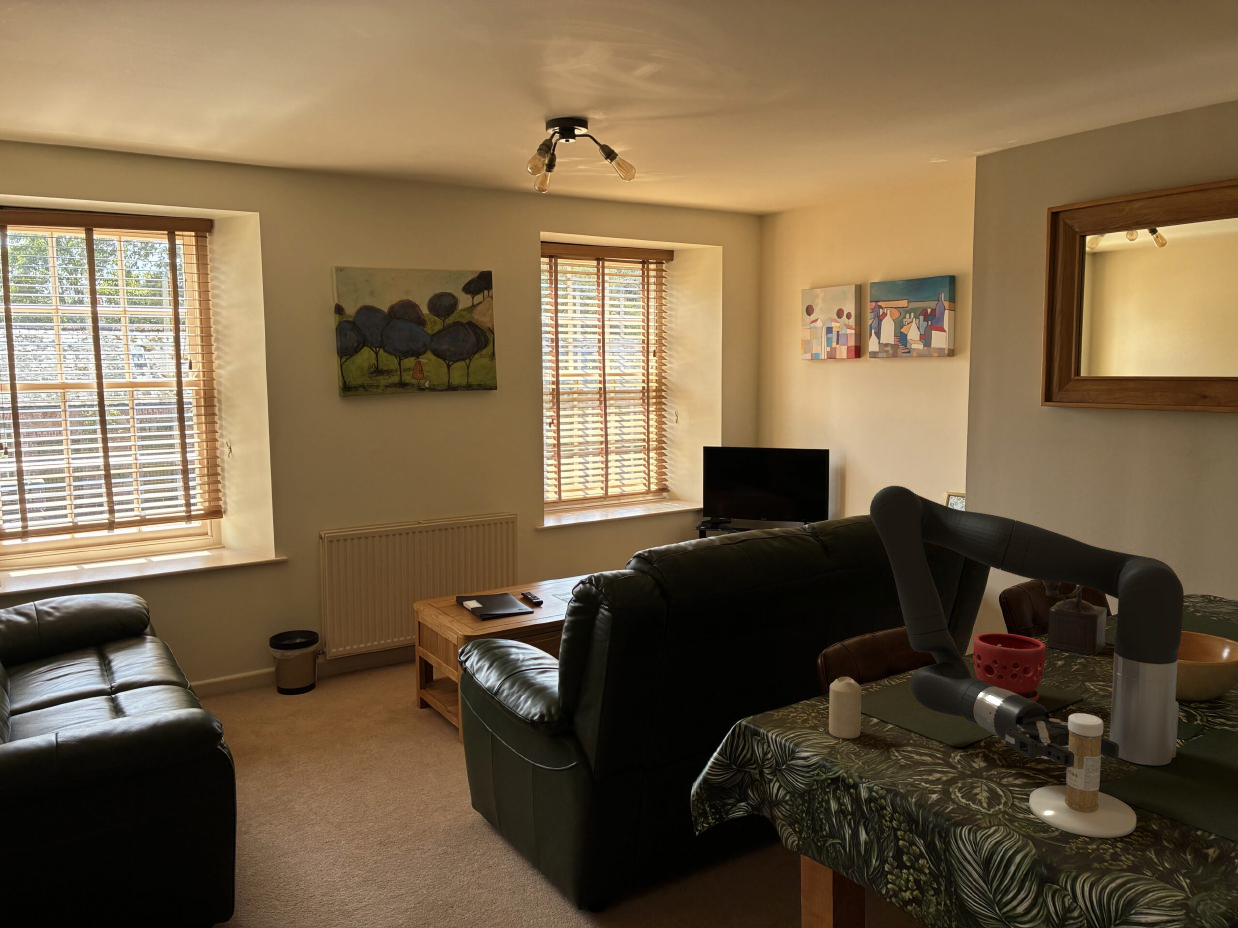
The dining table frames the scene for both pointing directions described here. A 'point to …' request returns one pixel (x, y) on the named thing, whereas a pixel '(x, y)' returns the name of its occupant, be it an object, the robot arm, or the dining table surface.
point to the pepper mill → (1075, 623)
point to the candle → (845, 708)
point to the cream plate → (1083, 814)
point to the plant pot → (1010, 662)
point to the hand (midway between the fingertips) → (1095, 756)
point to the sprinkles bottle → (1084, 762)
